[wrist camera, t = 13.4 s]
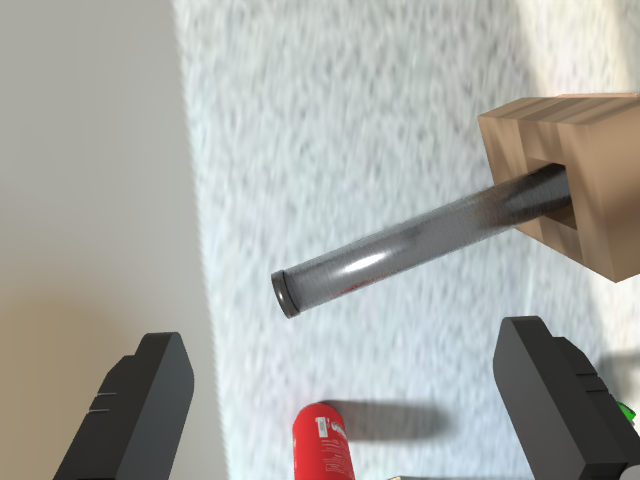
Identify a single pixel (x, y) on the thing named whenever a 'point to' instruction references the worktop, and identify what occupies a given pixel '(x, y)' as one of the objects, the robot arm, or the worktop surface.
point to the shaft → (422, 239)
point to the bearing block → (577, 173)
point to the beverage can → (321, 445)
